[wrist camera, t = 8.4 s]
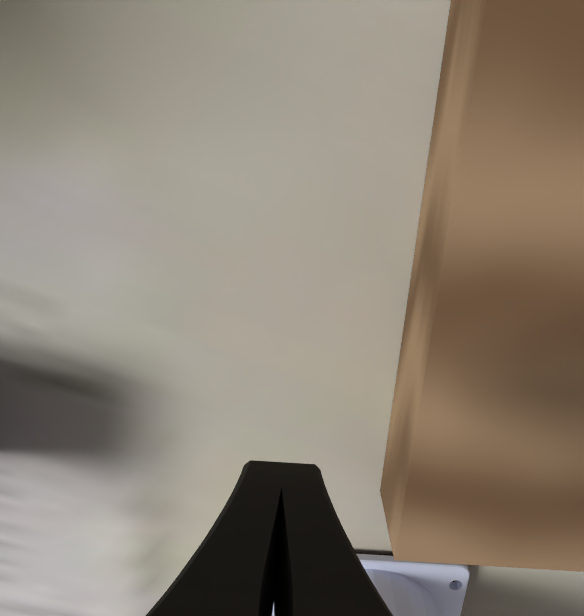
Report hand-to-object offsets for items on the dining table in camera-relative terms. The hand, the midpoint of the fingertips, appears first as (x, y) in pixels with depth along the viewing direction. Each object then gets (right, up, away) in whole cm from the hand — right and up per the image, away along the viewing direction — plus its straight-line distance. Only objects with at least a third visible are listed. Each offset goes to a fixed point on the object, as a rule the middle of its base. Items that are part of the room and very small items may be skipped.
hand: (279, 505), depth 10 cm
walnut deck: (+9, +5, +8) cm, 13 cm away
